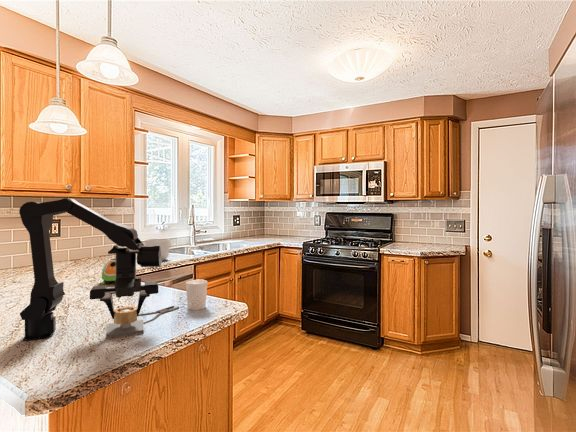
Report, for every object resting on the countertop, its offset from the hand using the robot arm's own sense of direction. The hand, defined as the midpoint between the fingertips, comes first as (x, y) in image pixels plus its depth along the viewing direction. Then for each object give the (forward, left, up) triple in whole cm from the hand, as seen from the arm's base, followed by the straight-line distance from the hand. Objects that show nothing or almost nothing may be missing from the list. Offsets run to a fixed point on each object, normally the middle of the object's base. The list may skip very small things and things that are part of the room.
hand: (125, 317), depth 100 cm
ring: (0, 0, -1) cm, 1 cm away
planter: (+16, +139, -4) cm, 140 cm away
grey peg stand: (0, 0, -4) cm, 4 cm away
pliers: (+8, +13, -5) cm, 16 cm away
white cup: (+24, +15, -4) cm, 29 cm away
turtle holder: (-7, +76, -4) cm, 76 cm away
